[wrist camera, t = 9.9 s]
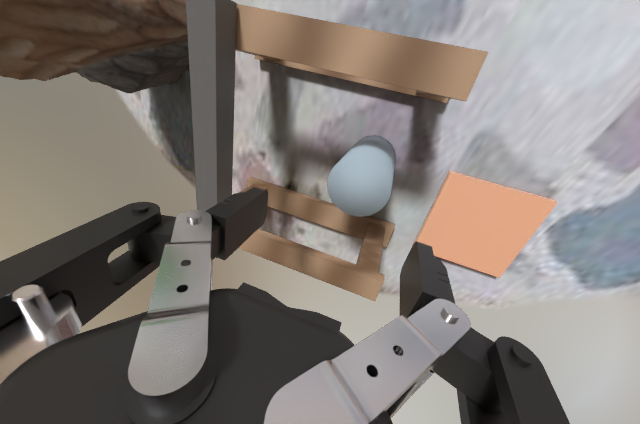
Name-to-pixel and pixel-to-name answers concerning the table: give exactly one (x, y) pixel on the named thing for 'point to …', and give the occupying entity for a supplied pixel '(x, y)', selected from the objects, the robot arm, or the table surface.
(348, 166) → the grey-blue cylinder
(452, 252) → the terracotta tile
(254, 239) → the gantry
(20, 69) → the brown pointed rock
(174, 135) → the table surface
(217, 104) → the bar
